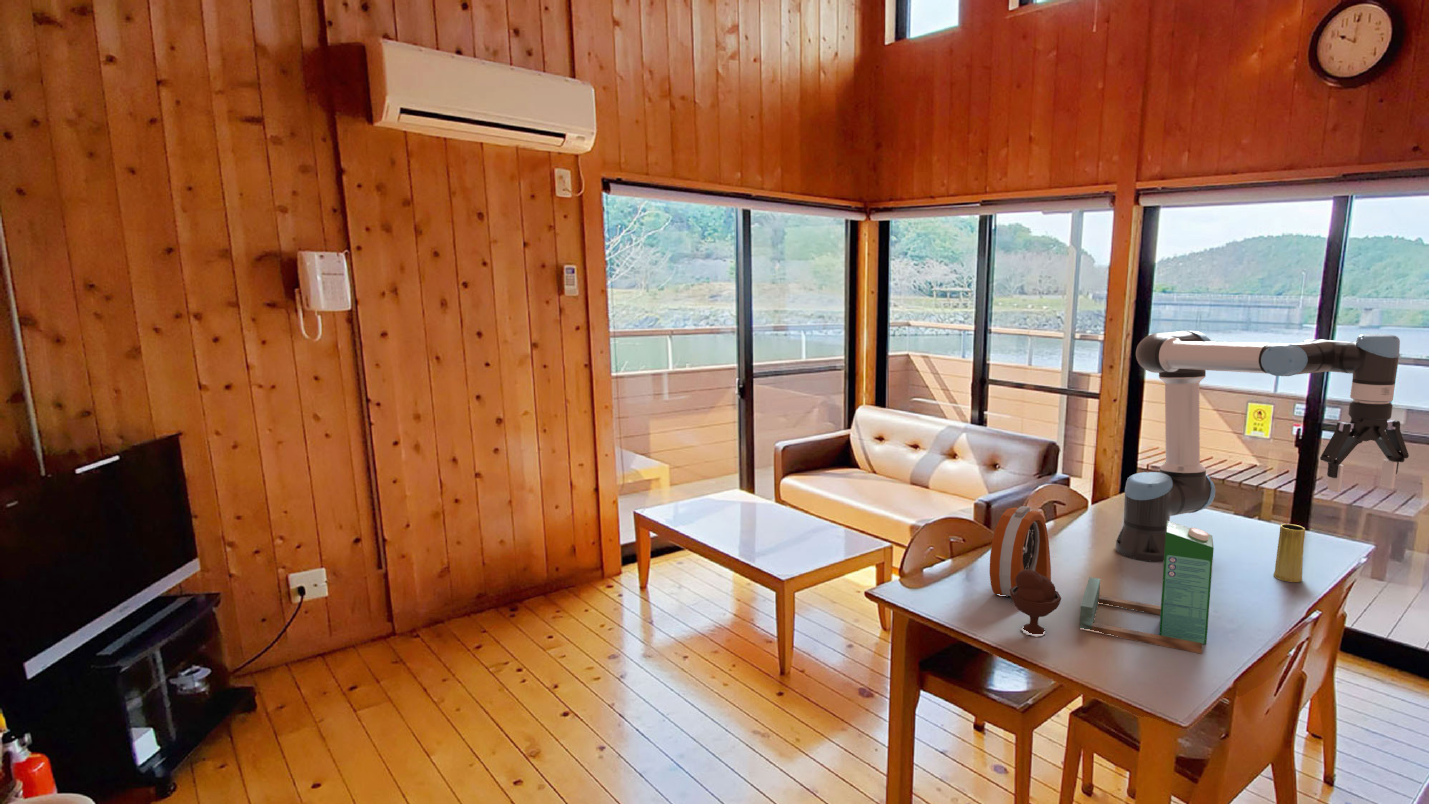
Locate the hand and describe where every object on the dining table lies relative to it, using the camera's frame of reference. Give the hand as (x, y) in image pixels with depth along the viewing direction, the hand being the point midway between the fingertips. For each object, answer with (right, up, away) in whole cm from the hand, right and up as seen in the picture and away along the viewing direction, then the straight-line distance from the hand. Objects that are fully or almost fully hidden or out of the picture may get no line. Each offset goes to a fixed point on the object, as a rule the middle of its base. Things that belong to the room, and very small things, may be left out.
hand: (1360, 489), depth 175 cm
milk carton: (-46, -33, -5) cm, 56 cm away
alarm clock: (-72, -29, +21) cm, 80 cm away
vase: (0, -27, +22) cm, 35 cm away
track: (-53, -32, -1) cm, 62 cm away
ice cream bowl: (-79, -33, -2) cm, 86 cm away
